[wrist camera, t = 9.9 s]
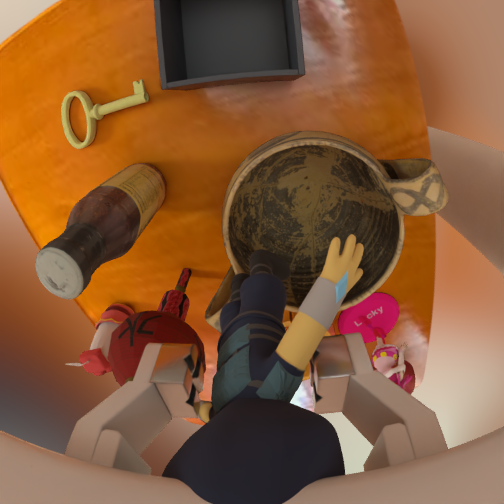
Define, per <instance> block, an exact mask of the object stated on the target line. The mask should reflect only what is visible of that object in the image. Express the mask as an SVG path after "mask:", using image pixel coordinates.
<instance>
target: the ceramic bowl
mask: <svg viewBox="0 0 504 504" xmlns="http://www.w3.org/2000/svg"><path fill="white" fill-rule="evenodd" d="M306 176H307V178H305V177H306ZM307 187H309V188H308V189H307ZM362 201H363V202H362ZM447 202H448V192H447V189H446V187H445V185H444V183H443V181H442V179H441V176H440V174H439V171H438V169H437V167H436V166H435V164H434V163H433V162H432V161H431V160H428V159H423V158H418V159H397V160H378V159H375V157H374V156H373V155H372V154H370V153H369V152H368V151H367V150H366V149H364V148H363V147H361V146H360V145H358V144H356V143H354V142H353V141H351V140H349V139H347V138H345V137H342V136H339V135H335V134H331V133H327V132H321V131H298V132H291V133H288V134H284V135H281V136H278V137H276V138H273V139H271V140H269V141H267V142H266V143H264V144H263V145H261V146H260V147H258V148H257V149H255V150H254V151H253V152H252V153H251V154H249V155H248V156H247V158H246V159H245V160H244V161H243V162H242V163H241V164H240V166H239V167H238V169H237V170H236V172H235V173H234V175H233V177H232V179H231V181H230V183H229V185H228V187H227V190H226V194H225V197H224V202H223V208H222V234H223V239H224V246H225V249H226V253H227V256H228V258H229V260H230V262H231V264H232V265H231V267H230V269H229V271H228V273H227V275H226V277H225V278H224V280H223V282H222V284H221V286H220V288H219V289H218V291H217V293H216V294H215V296H214V297H213V299H212V300H211V302H210V304H209V306H208V308H207V310H206V313H205V320H206V321H207V322H208V324H210V325H211V326H212V327H214V328H215V329H216V330H217V331H218V332H220V333H221V327H220V313H221V310H222V308H223V307H224V306H225V305H226V304H227V303H229V302H230V300H231V298H230V296H231V288H230V285H231V281H232V279H233V277H234V276H235V275H236V274H239V273H247V274H250V266H249V260H250V256H251V254H252V253H253V252H254V251H256V250H259V249H263V250H267V251H270V252H272V253H274V254H276V255H278V256H279V257H281V258H282V259H283V260H285V261H286V262H287V264H288V265H289V266H290V269H291V275H290V277H289V278H288V279H286V280H284V281H282V282H283V284H284V286H285V288H286V292H287V300H286V307H285V310H288V311H291V312H296V313H298V312H297V311H298V309H299V308H300V306H301V305H302V303H303V301H304V300H305V298H306V296H307V295H308V293H309V292H310V290H311V288H312V287H313V285H314V283H315V282H316V280H317V278H318V277H320V275H321V273H322V271H323V268H324V265H325V262H326V258H327V254H328V250H329V246H330V244H331V241H332V239H333V238H335V237H338V238H339V239H340V250H339V255H341V254H342V252H343V249H344V245H345V242H346V240H347V238H348V236H349V235H351V234H353V235H354V236H355V237H356V244H358V243H361V244H362V245H363V247H364V251H363V255H362V258H361V261H360V263H359V266H358V268H360V269H362V270H363V274H362V276H361V278H360V279H359V280H358V281H357V282H356V283H355V285H354V286H353V287H352V288H351V289H350V290H349V292H348V293H347V294H346V296H345V298H344V300H343V301H342V303H341V305H340V308H339V310H338V311H341V310H344V309H347V308H349V307H350V306H354V305H356V304H358V303H359V302H361V301H363V300H364V299H366V298H367V297H368V296H370V295H371V294H372V293H374V292H375V291H376V290H377V289H378V288H379V287H380V286H381V285H382V284H383V283H384V282H385V281H386V280H387V278H388V277H389V276H390V274H391V273H392V271H393V270H394V268H395V266H396V264H397V262H398V259H399V257H400V254H401V251H402V247H403V243H404V235H405V230H404V215H405V214H406V215H411V216H424V215H428V214H432V213H435V212H438V211H439V210H441V209H442V208H443V207H444V206H445V205H446V204H447ZM356 244H355V246H356ZM358 268H357V269H358Z"/></svg>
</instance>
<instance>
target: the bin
mask: <svg viewBox="0 0 504 504" xmlns="http://www.w3.org/2000/svg"><path fill="white" fill-rule="evenodd" d="M154 8H155V23H156V36H157V47H158V58H159V68H160V78H161V87H162V90H191V89H198V88H205V87H212V86H220V85H229V84H239V83H251V82H265V81H284V80H295V79H297V78H299V77H301V76H303V75H305V66H304V54H303V43H302V33H301V24H300V14H299V6H298V0H154Z"/></svg>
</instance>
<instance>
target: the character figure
mask: <svg viewBox="0 0 504 504" xmlns="http://www.w3.org/2000/svg"><path fill="white" fill-rule="evenodd" d="M355 244H356V237H355V236H354V235H353V234H351V235H349V236H348V238H347V240H346V242H345V245H344V249H343V252H342V254H341V255H339V250H340V239H339V238H338V237H335V238H333V239H332V241H331V244H330V246H329V250H328V254H327V258H326V262H325V265H324V268H323V271H322V273H321V275H320V277H318V278H317V280H316V282H315V283H314V285H313V287H312V288H311V290H310V292H309V293H308V295H307V296H306V298H305V300H304V301H303V303H302V305H301V306H300V308H299V309H298V311H297V312H298V313H297V314H296V316H295V318H294V319H293V321H292V322H291V324H290V326H289V327H288V329H287V331H285V327H284V325H283V323H282V321H283V314H284V310H285V307H286V300H287V292H286V288H285V286H284V284H283V282H282V281H284V280H286V279H288V278H289V277H290V275H291V269H290V266H289V265H288V264H287V262H286V261H285V260H283V259H282V258H281V257H279V256H278V255H276V254H274V253H272V252H270V251H267V250H263V249H259V250H256V251H254V252H253V253H252V254H251V256H250V260H249V266H250V274H247V273H239V274H236V275H235V276H234V277H233V279H232V281H231V285H230V288H231V296H230V298H231V300H230V302H229V303H227V304H226V305H225V306H224V307H223V308H222V310H221V313H220V327H221V336H220V338H219V341H218V347H217V351H218V361H217V373H216V374H215V376H214V378H213V385H212V397H211V400H212V402H210V401H203V400H201V403H200V409H199V415H198V418H199V419H200V420H202V421H203V422H205V423H206V424H205V425H204V426H202V427H201V428H200V429H199V430H198V431H197V432H195V433H194V434H193V435H192V436H191V437H190V438H189V439H188V440H187V441H186V442H185V443H184V444H183V446H182V447H181V448H180V449H179V450H178V452H177V453H176V454H175V455H174V456H173V458H172V459H171V460H170V462H169V463H168V465H167V466H166V468H165V470H164V472H163V474H162V477H168V478H174V479H178V480H180V481H182V482H183V483H185V484H186V485H187V486H188V487H190V488H191V490H192V491H193V492H194V493H195V494H197V495H198V496H199V497H200V498H202V499H203V500H205V501H207V502H209V503H211V504H282V503H284V502H286V501H288V500H290V499H291V498H292V497H294V496H295V495H296V494H297V493H299V492H300V491H301V490H302V489H303V488H304V487H306V486H307V485H309V484H311V483H313V482H315V481H317V480H320V479H323V478H328V477H335V476H341V475H345V467H344V461H343V455H342V451H341V446H340V443H339V438H338V436H337V433H336V430H335V429H334V427H333V425H332V424H331V423H330V422H329V421H328V420H327V419H325V418H324V417H322V416H321V415H319V414H316V413H314V412H312V411H309V410H306V409H304V408H301V407H299V406H296V405H294V404H291V403H290V401H291V399H292V398H293V396H294V394H295V392H296V391H297V390H298V388H299V386H300V384H301V382H302V380H303V376H304V372H305V370H306V366H307V365H308V363H309V361H310V359H311V357H312V355H313V354H314V352H315V350H316V348H317V347H318V345H319V343H320V341H321V340H322V338H323V336H324V334H325V333H326V331H328V330H329V328H330V326H331V324H332V322H333V321H334V319H335V316H336V314H337V312H338V310H339V308H340V305H341V303H342V301H343V300H344V298H345V296H346V294H347V293H348V292H349V290H350V289H351V288H352V287H353V286H354V285H355V283H356V282H357V281H358V280H359V279H360V278H361V276H362V274H363V270H362V269H360V268H358V266H359V263H360V261H361V258H362V255H363V251H364V247H363V245H362V244H361V243H358V244H356V246H355ZM357 268H358V269H357Z"/></svg>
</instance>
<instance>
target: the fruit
mask: <svg viewBox="0 0 504 504" xmlns="http://www.w3.org/2000/svg"><path fill="white" fill-rule="evenodd" d="M398 359H399V358H397V362H396V363H395V365H393V366H392V367H391V368H395V367H397V366H398ZM404 364H405V373H404V375H403V378H405V377H406V375H407V376H408V374H409V377H410V376H412V375H413V376H412V379H411V380H410V381H409V382H408V383H407V384H406V385H405V386H404V387H405V389H404V390H405V391H406V392H407V393H409V394H410V395H411V393H412V392H413V390H414V387H415V374H414V370H413V367H412V365H411V364H410V363H409V362H407V361H406V360H404ZM375 370H377V369H376V368H374V371H375ZM409 377H408V378H409ZM406 378H407V377H406ZM405 380H406V379H405Z"/></svg>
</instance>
